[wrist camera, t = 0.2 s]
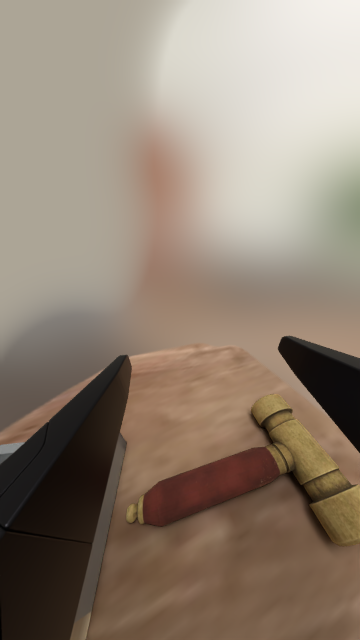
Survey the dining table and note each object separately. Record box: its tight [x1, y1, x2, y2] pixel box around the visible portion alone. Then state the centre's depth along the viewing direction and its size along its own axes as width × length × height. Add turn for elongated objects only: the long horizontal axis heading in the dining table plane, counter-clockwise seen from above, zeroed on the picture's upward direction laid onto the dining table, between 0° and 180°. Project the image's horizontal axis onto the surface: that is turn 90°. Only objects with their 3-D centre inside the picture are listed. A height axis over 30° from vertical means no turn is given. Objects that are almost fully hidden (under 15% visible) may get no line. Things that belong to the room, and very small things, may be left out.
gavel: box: [126, 394, 360, 546], centre depth 13 cm, size 21×5×10 cm
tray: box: [0, 433, 127, 623], centre depth 12 cm, size 9×16×4 cm, turn 95°
